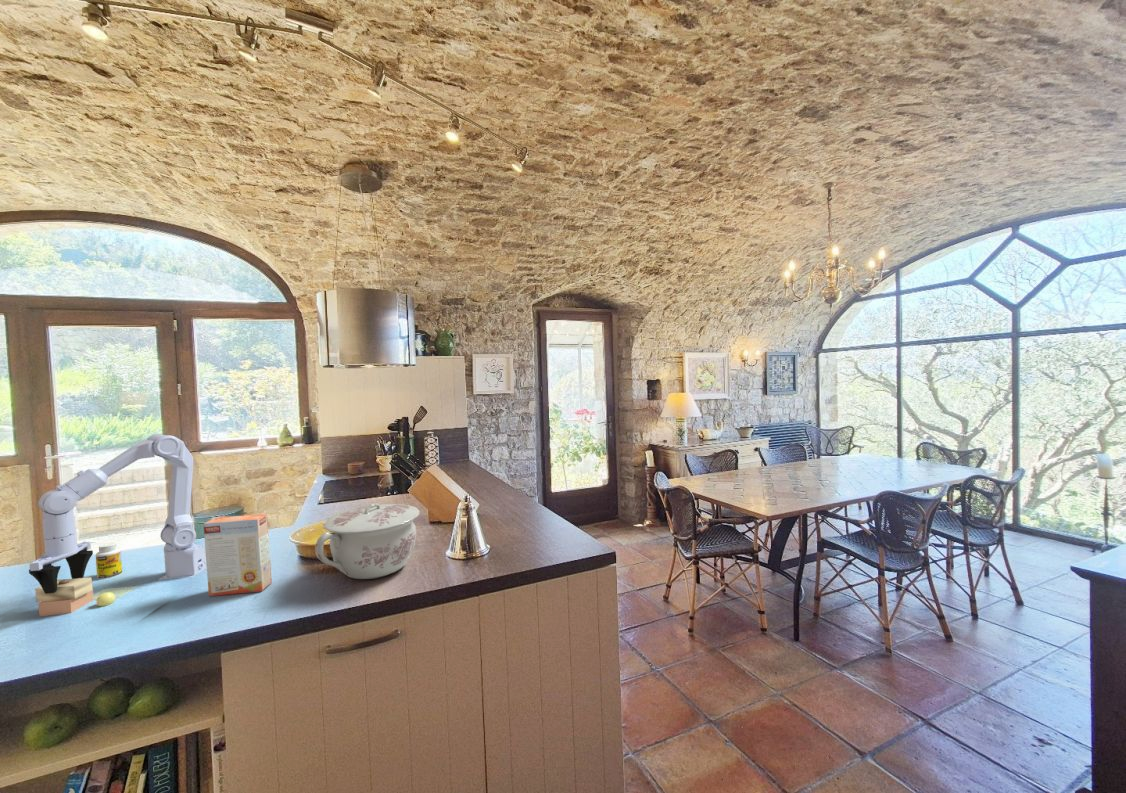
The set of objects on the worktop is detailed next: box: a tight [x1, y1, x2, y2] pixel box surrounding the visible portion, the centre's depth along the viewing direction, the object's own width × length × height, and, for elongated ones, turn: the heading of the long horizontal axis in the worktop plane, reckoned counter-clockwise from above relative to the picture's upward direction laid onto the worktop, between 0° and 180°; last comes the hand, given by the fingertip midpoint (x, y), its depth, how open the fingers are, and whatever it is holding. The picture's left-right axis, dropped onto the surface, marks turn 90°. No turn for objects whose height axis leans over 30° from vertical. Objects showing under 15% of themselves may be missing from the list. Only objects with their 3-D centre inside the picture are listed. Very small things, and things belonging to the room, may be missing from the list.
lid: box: [34, 577, 94, 603], centre depth 121 cm, size 9×5×4 cm, turn 96°
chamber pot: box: [314, 502, 421, 580], centre depth 140 cm, size 28×28×21 cm
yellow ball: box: [95, 592, 116, 607], centre depth 123 cm, size 4×4×4 cm
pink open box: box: [37, 587, 94, 617], centre depth 121 cm, size 7×7×4 cm
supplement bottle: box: [95, 542, 123, 580], centre depth 142 cm, size 6×6×10 cm
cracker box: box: [203, 513, 273, 597], centre depth 130 cm, size 14×6×21 cm, turn 97°
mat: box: [93, 585, 139, 601], centre depth 129 cm, size 9×7×1 cm
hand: (64, 586), depth 121 cm, fingers open, 7 cm apart
